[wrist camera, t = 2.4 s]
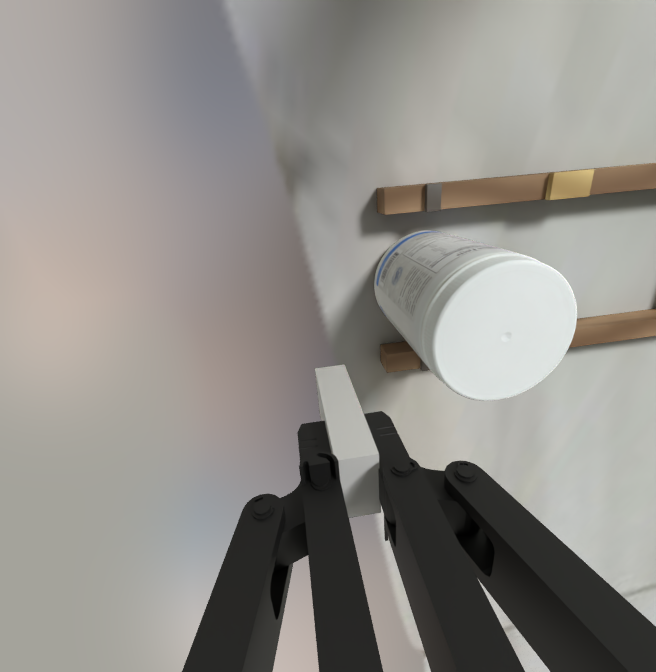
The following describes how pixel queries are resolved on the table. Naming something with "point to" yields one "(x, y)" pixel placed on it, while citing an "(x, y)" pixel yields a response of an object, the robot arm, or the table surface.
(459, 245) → the supplement tub
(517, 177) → the beam track
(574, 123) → the table surface
